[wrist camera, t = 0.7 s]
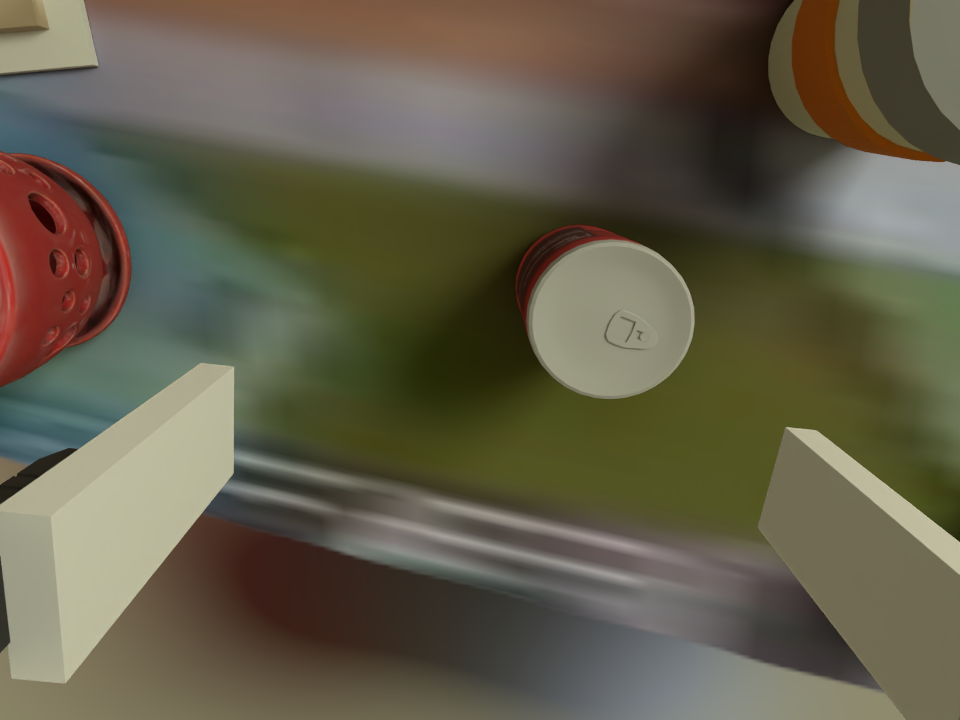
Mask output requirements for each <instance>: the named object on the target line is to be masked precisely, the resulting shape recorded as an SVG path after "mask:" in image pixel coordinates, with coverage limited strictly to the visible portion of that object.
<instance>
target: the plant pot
mask: <svg viewBox="0 0 960 720" xmlns="http://www.w3.org/2000/svg"><path fill="white" fill-rule="evenodd" d="M130 280H131V255H130V248H129V244H128V240H127V237H126V234H125V231H124V229H123V226H122V224H121V222H120V220H119V218H118V216H117V214H116V213H115V211H114V210H113V208H112V207H111V205H110V204H109V203H108V201H107V200H106V199H105V198H104V196H103V195H102V194H101V193H100V192H99V191H98V190H97V189H96V188H95V187H94V186H93V185H92V184H91V183H89V182H88V181H87V180H86V179H84V178H83V177H82V176H80V175H79V174H77V173H76V172H74V171H72V170H71V169H69V168H67V167H65V166H63V165H61V164H59V163H56V162H54V161H51V160H49V159H46V158H42V157H39V156H35V155H30V154H21V153H7V154H6V153H4V152H1V151H0V387H2V386H4V385H6V384H9V383H11V382H14V381H16V380H18V379H20V378H22V377H24V376H26V375H27V374H29V373H31V372H32V371H34V370H35V369H37V368H39V367H40V366H42V365H43V364H45V363H46V362H48V361H49V360H50V359H52V358H53V357H54V356H56V355H57V354H58V353H59V352H61V351H62V350H63V349H64V348H67V347H71V346H75V345H78V344H81V343H83V342H86V341H88V340H90V339H92V338H93V337H95V336H97V335H98V334H99V333H101V332H102V331H103V330H105V329H106V328H107V327H108V326H109V325H110V324H111V323H112V322H113V321H114V320H115V318H116V317H117V316H118V314H119V313H120V311H121V309H122V307H123V305H124V303H125V300H126V297H127V294H128V290H129V286H130Z"/></svg>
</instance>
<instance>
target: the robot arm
mask: <svg viewBox="0 0 960 720" xmlns="http://www.w3.org/2000/svg"><path fill="white" fill-rule="evenodd" d="M233 466H234V367H233V366H223V365H214V364H205V363H200V364H199V365H197V366H196V367H194V368H193V369H192V370H190V371H189V372H187V373H186V374H185V375H183V376H182V377H180V378H179V379H177V380H176V381H175V382H173V383H172V384H170V385H169V386H168V387H166V388H165V389H163V390H162V391H160V392H159V393H158V394H156V395H155V396H153V397H152V398H151V399H149V400H148V401H146V402H145V403H143V404H142V405H141V406H139V407H138V408H136V409H135V410H134V411H132V412H131V413H129V414H128V415H126V416H125V417H124V418H122V419H121V420H119V421H118V422H117V423H115V424H114V425H112V426H111V427H109V428H108V429H107V430H105V431H104V432H102V433H101V434H100V435H98V436H97V437H95V438H94V439H92V440H91V441H90V442H88V443H87V444H85V445H84V446H83V447H81V448H80V449H73V448H68V449H65V450H62V451H60V452H57V453H54V454H51V455H49V456H46V457H43V458H41V459H38V460H37V461H35V462H34V463H32V464H31V465H29V466H28V467H26V468H25V469H23V470H22V471H20V472H19V473H18V474H17V477H15V476H13V477H12V478H10V479H9V480H7V481H5V482H4V483H2V484H1V485H0V652H1V651H2V650H3V649H4V648H5V647H6V646H7V645H8V651H9V660H10V669H11V678H12V679H22V680H33V681H43V682H55V683H66V682H67V681H68V680H69V678H70V677H71V676H72V674H73V673H74V672H75V671H76V669H77V668H78V667H79V666H80V664H81V663H82V662H83V661H84V659H85V658H86V657H87V656H88V655H89V653H90V652H91V651H92V650H93V648H94V647H95V646H96V645H97V643H98V642H99V641H100V640H101V638H102V637H103V636H104V635H105V633H106V632H107V631H108V630H109V628H110V627H111V626H112V625H113V623H114V622H115V621H116V619H117V618H118V617H119V616H120V615H121V613H122V612H123V611H124V610H125V608H126V607H127V606H128V605H129V603H130V602H131V601H132V600H133V598H134V597H135V596H136V595H137V593H138V592H139V591H140V590H141V588H142V587H143V586H144V585H145V583H146V582H147V581H148V580H149V578H150V577H151V576H152V575H153V573H154V572H155V571H156V570H157V568H158V567H159V566H160V564H161V563H162V562H163V561H164V560H165V558H166V557H167V556H168V554H169V553H170V552H171V551H172V550H173V548H174V547H175V546H176V545H177V543H178V542H179V541H180V540H181V538H182V537H183V536H184V535H185V533H186V532H187V531H188V530H189V528H190V527H191V526H192V524H193V523H194V522H195V521H196V520H197V518H198V517H199V516H200V515H201V513H202V512H203V511H204V510H205V508H206V507H207V506H208V505H209V503H210V502H211V501H212V500H213V498H214V497H215V496H216V495H217V493H218V492H219V491H220V490H221V488H222V487H223V486H224V485H225V483H226V482H227V481H228V480H229V478H230V477H231V476H232V475H233ZM758 529H759V530H760V531H761V533H762V534H763V535H764V537H765V538H766V539H767V540H768V542H769V543H770V544H771V546H772V547H773V548H774V549H775V551H776V552H777V553H778V555H779V556H780V557H781V559H782V560H783V561H784V562H785V564H786V565H787V566H788V568H789V569H790V570H791V571H792V573H793V574H794V575H795V577H796V578H797V579H798V581H799V582H800V583H801V584H802V586H803V587H804V588H805V590H806V591H807V592H808V593H809V595H810V596H811V597H812V599H813V600H814V601H815V603H816V604H817V605H818V606H819V608H820V609H821V610H822V612H823V613H824V614H825V615H826V617H827V618H828V619H829V621H830V622H831V623H832V625H833V626H834V627H835V628H836V630H837V631H838V632H839V634H840V635H841V636H842V637H843V639H844V640H845V641H846V643H847V644H848V645H849V647H850V648H851V649H852V650H853V652H854V653H855V654H856V656H857V657H858V658H859V659H860V661H861V662H862V663H863V665H864V666H865V667H866V669H867V670H868V671H869V672H870V674H871V675H872V676H873V678H874V679H875V680H876V681H877V683H878V684H879V685H880V687H881V688H882V689H883V691H884V692H885V693H886V694H887V696H888V697H889V698H890V699H891V701H892V702H893V703H894V704H895V706H896V707H897V709H898V710H899V711H900V712H901V714H902V715H903V716H904V718H905V719H906V720H960V542H959V541H958V540H956V539H955V538H954V537H952V536H951V535H950V534H949V533H947V532H946V531H945V530H943V529H942V528H941V527H940V526H938V525H937V524H936V523H934V522H933V521H932V520H931V519H929V518H928V517H927V516H926V515H924V514H923V513H922V512H920V511H919V510H918V509H917V508H915V507H914V506H913V505H911V504H910V503H909V502H908V501H906V500H905V499H904V498H902V497H901V496H900V495H899V494H897V493H896V492H895V491H893V490H892V489H891V488H890V487H888V486H887V485H886V484H885V483H883V482H882V481H881V480H879V479H878V478H877V477H876V476H874V475H873V474H872V473H870V472H869V471H868V470H867V469H865V468H864V467H863V466H861V465H860V464H859V463H858V462H856V461H855V460H854V459H852V458H851V457H850V456H849V455H847V454H846V453H845V452H844V451H842V450H841V449H840V448H838V447H837V446H836V445H835V444H833V443H832V442H831V441H829V440H828V439H827V438H826V437H824V436H823V435H822V434H820V433H819V432H818V431H817V430H807V429H798V428H789V427H785V431H784V434H783V438H782V441H781V445H780V449H779V452H778V456H777V460H776V463H775V467H774V470H773V474H772V478H771V481H770V485H769V489H768V492H767V496H766V499H765V503H764V507H763V510H762V514H761V518H760V521H759V525H758Z"/></svg>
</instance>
